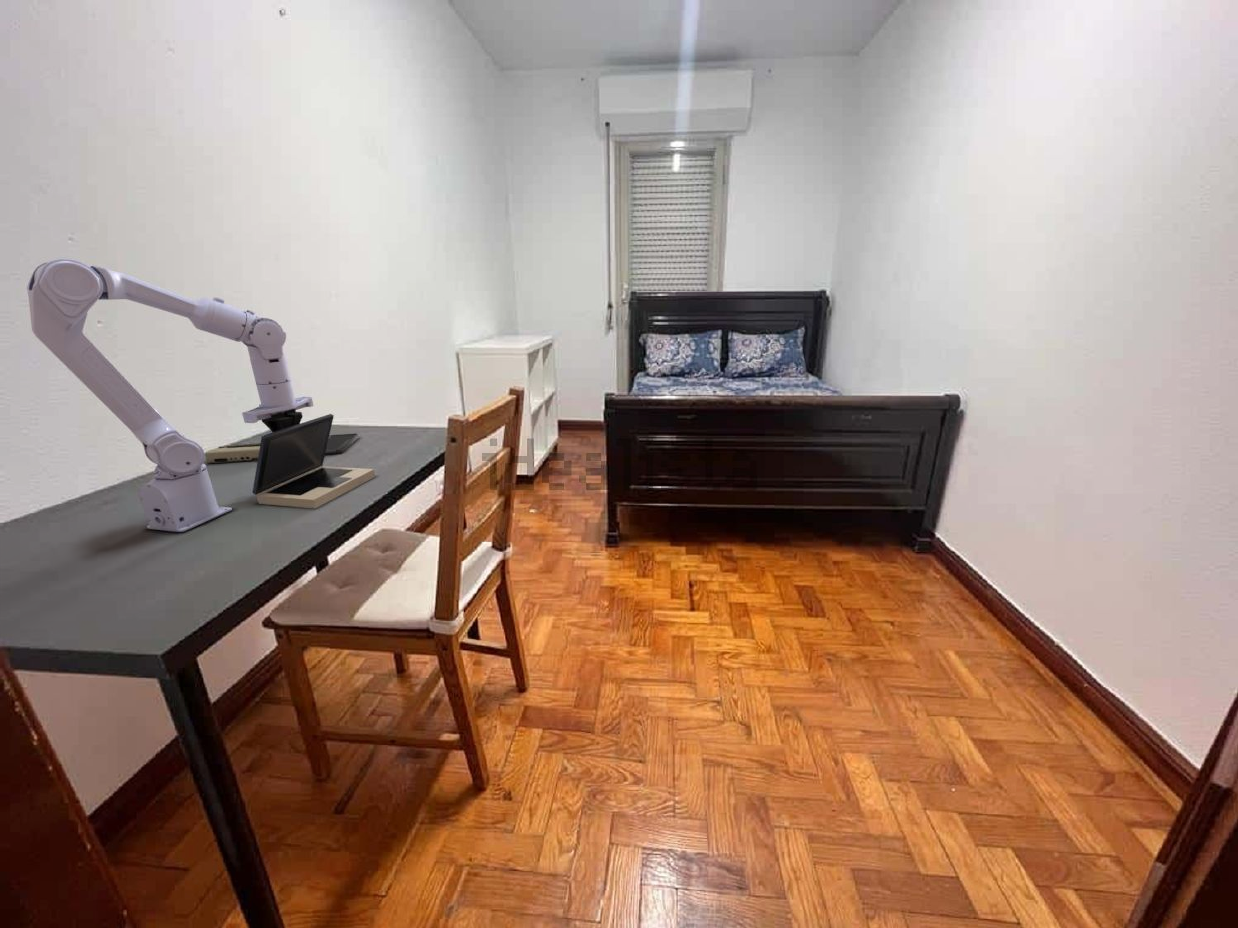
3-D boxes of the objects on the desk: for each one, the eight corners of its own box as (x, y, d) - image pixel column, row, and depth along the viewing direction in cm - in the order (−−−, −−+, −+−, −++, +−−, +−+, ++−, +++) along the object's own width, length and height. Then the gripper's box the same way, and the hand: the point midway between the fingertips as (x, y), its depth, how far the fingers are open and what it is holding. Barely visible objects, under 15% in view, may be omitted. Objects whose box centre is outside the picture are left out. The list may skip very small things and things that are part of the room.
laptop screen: (334, 415, 109) (330, 413, 109) (265, 438, 94) (261, 435, 94) (322, 465, 114) (319, 464, 114) (256, 495, 99) (252, 493, 99)
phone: (306, 451, 127) (328, 435, 141) (307, 456, 127) (329, 439, 141) (340, 449, 128) (359, 433, 142) (341, 453, 128) (360, 436, 142)
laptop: (375, 476, 112) (373, 468, 111) (315, 508, 96) (313, 499, 96) (324, 473, 115) (322, 465, 114) (258, 503, 99) (256, 494, 99)
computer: (292, 449, 133) (289, 437, 132) (278, 459, 125) (275, 446, 124) (226, 454, 131) (222, 441, 129) (207, 464, 123) (203, 451, 122)
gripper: (286, 375, 107) (301, 438, 111) (221, 388, 94) (241, 459, 98) (315, 375, 105) (329, 439, 110) (253, 389, 92) (272, 461, 97)
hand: (289, 449), depth 104 cm, fingers closed, pressing on laptop screen
